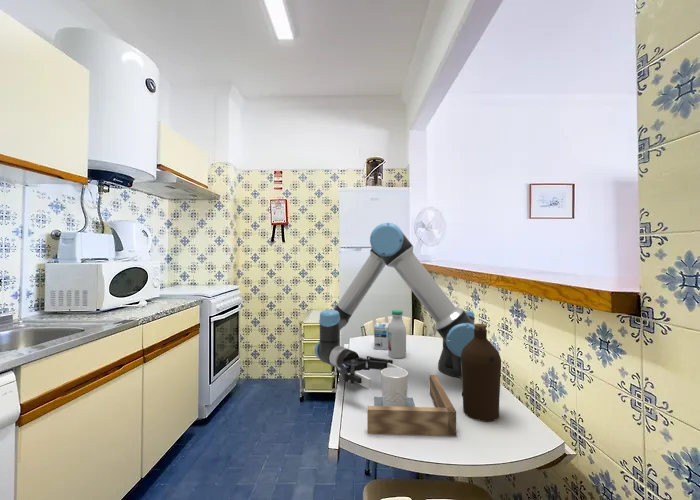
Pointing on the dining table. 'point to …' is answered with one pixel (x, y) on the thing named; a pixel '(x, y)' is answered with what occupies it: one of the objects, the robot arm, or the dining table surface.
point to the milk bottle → (397, 336)
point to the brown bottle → (481, 377)
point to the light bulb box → (381, 335)
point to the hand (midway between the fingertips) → (387, 378)
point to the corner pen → (415, 416)
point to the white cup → (394, 386)
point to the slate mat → (379, 402)
